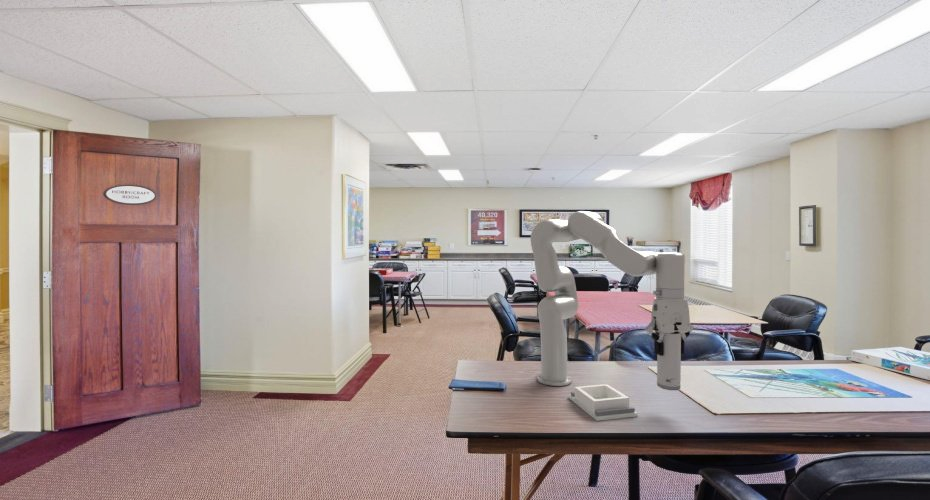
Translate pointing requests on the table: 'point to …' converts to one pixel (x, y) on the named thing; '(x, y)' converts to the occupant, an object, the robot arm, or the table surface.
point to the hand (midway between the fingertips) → (669, 353)
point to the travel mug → (670, 361)
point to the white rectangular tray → (602, 402)
